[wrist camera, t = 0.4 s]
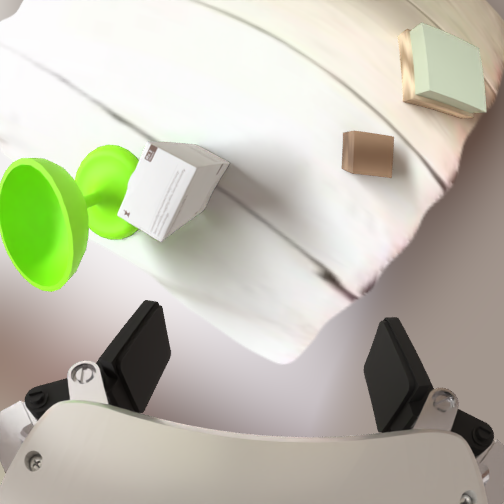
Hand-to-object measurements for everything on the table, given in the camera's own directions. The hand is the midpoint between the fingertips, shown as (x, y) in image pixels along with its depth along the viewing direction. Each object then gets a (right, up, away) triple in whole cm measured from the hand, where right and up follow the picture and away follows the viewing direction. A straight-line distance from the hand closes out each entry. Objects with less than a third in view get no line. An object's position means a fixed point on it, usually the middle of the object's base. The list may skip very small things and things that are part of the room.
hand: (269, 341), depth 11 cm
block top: (+25, +28, +12) cm, 40 cm away
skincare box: (-8, +14, +26) cm, 31 cm away
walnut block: (+14, +17, +22) cm, 31 cm away
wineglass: (-24, +13, +28) cm, 39 cm away
